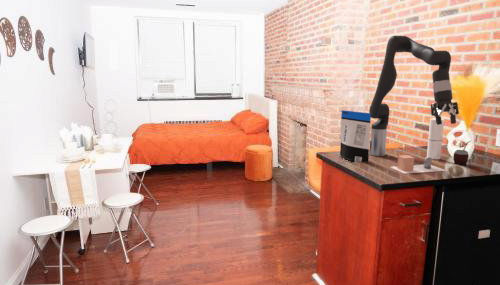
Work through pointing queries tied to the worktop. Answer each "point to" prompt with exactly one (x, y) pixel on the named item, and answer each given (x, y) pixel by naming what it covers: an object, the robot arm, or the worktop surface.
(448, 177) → the worktop surface
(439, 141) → the cylindrical container
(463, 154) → the mate gourd
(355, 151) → the protein powder
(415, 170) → the white board
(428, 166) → the steel post
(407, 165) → the salmon pink cube
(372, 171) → the worktop surface
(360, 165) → the worktop surface
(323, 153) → the worktop surface
